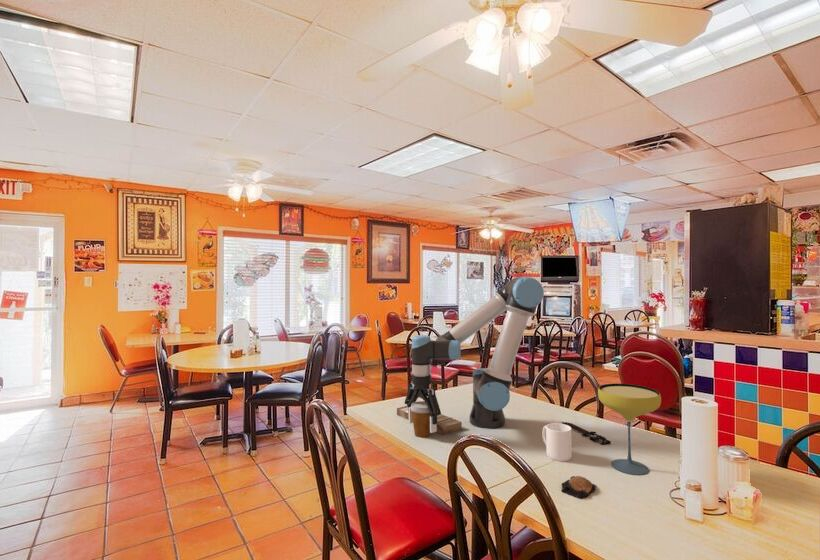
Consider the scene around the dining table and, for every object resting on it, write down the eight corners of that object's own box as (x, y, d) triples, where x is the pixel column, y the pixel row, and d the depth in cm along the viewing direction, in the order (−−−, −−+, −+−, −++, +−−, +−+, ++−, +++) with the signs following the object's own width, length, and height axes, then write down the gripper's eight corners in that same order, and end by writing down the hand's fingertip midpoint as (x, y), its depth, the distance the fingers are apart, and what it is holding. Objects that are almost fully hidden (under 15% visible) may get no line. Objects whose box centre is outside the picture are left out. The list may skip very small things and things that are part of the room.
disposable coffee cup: (434, 430, 169) (434, 401, 169) (433, 439, 160) (433, 408, 160) (411, 429, 170) (411, 400, 170) (409, 438, 161) (409, 408, 161)
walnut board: (461, 429, 170) (461, 421, 170) (443, 435, 164) (443, 427, 164) (414, 410, 195) (413, 403, 195) (396, 414, 189) (396, 407, 189)
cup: (558, 463, 137) (558, 433, 137) (534, 450, 148) (533, 422, 148) (577, 458, 141) (576, 429, 141) (551, 446, 152) (551, 418, 152)
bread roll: (571, 479, 128) (571, 467, 128) (599, 488, 122) (599, 476, 122) (556, 492, 120) (556, 480, 120) (586, 503, 114) (585, 489, 114)
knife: (558, 423, 176) (558, 420, 176) (571, 422, 177) (571, 419, 177) (598, 447, 151) (598, 443, 151) (613, 445, 153) (613, 441, 153)
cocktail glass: (598, 452, 146) (596, 381, 145) (656, 459, 139) (655, 385, 139) (600, 474, 129) (599, 395, 129) (667, 485, 122) (666, 400, 122)
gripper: (449, 378, 157) (450, 433, 157) (410, 367, 177) (410, 417, 177) (434, 381, 153) (435, 438, 153) (395, 370, 173) (396, 421, 173)
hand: (422, 427), depth 165 cm, fingers open, 13 cm apart
